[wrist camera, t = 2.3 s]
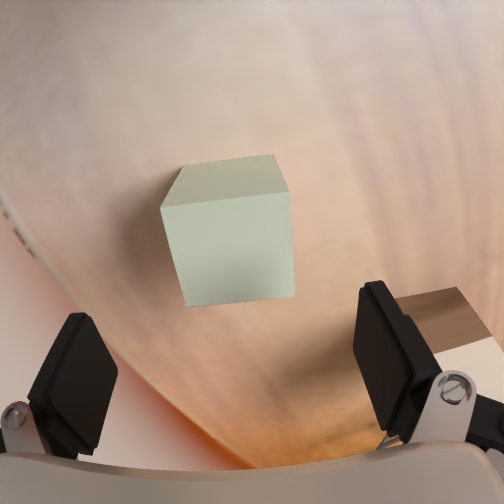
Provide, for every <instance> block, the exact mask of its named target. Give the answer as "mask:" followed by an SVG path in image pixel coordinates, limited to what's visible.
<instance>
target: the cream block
mask: <svg viewBox="0 0 504 504" xmlns="http://www.w3.org/2000/svg"><path fill="white" fill-rule="evenodd" d="M433 355H434V357H435V358H436V360H437V362H438V364H439V366H440V367H441V369H442V371H443V372H445V371H448V370H457V371H461V372H463V373H465V374H467V375H468V376H469V377H471V378H472V380H473V381H474V383H475V385H476V389H477V394H480V395H482V396H485V397H488V398H491V399H493V400H496V401H499V402H502V403H504V353H503V351H502V350H501V348H500V347H499V345H498V344H497V342H496V341H495V339H494V338H493V336H491V337H488V338H485V339H482V340H479V341H476V342H473V343H470V344H467V345H463V346H460V347H457V348H453V349H450V350H447V351H443V352H439V353H436V354H433Z"/></svg>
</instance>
